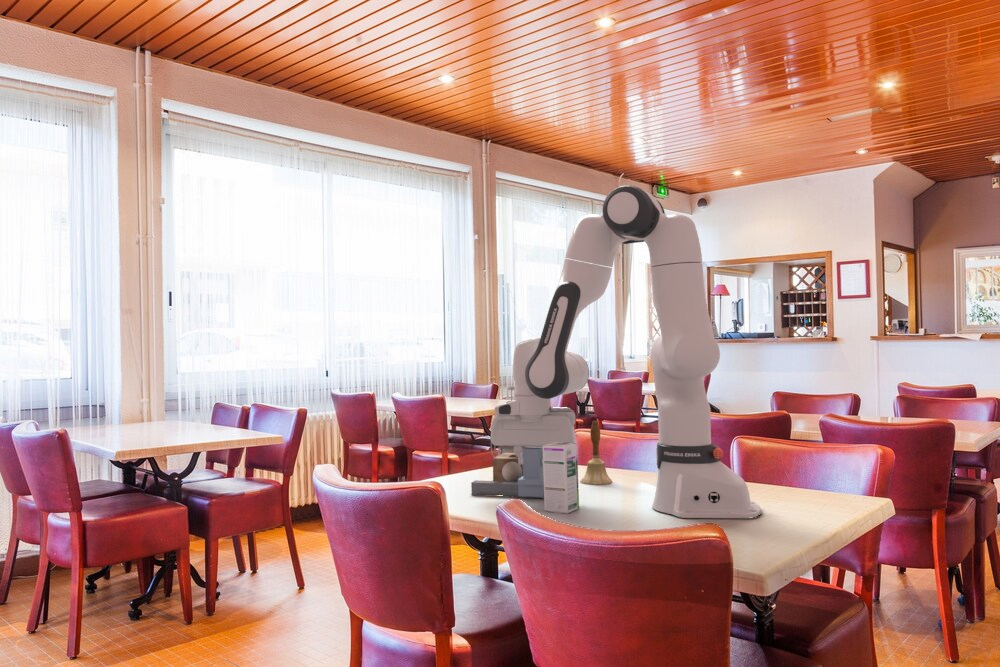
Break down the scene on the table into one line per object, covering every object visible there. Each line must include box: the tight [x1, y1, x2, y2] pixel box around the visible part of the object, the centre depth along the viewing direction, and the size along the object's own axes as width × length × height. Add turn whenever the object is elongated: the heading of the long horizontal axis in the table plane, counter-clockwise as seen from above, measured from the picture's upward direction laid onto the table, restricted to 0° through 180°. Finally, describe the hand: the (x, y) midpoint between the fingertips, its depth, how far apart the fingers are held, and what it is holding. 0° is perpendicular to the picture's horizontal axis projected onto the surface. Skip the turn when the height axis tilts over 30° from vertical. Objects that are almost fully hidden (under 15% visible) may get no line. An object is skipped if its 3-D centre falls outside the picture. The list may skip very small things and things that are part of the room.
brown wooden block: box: [492, 453, 523, 482], centre depth 190 cm, size 10×11×8 cm
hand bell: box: [580, 420, 613, 486], centre depth 196 cm, size 8×8×16 cm
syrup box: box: [543, 442, 580, 515], centre depth 163 cm, size 6×6×14 cm
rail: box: [470, 479, 544, 499], centre depth 180 cm, size 21×3×3 cm, turn 74°
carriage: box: [518, 446, 544, 498], centre depth 178 cm, size 6×7×11 cm
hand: (533, 465), depth 179 cm, fingers closed on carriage, 4 cm apart
